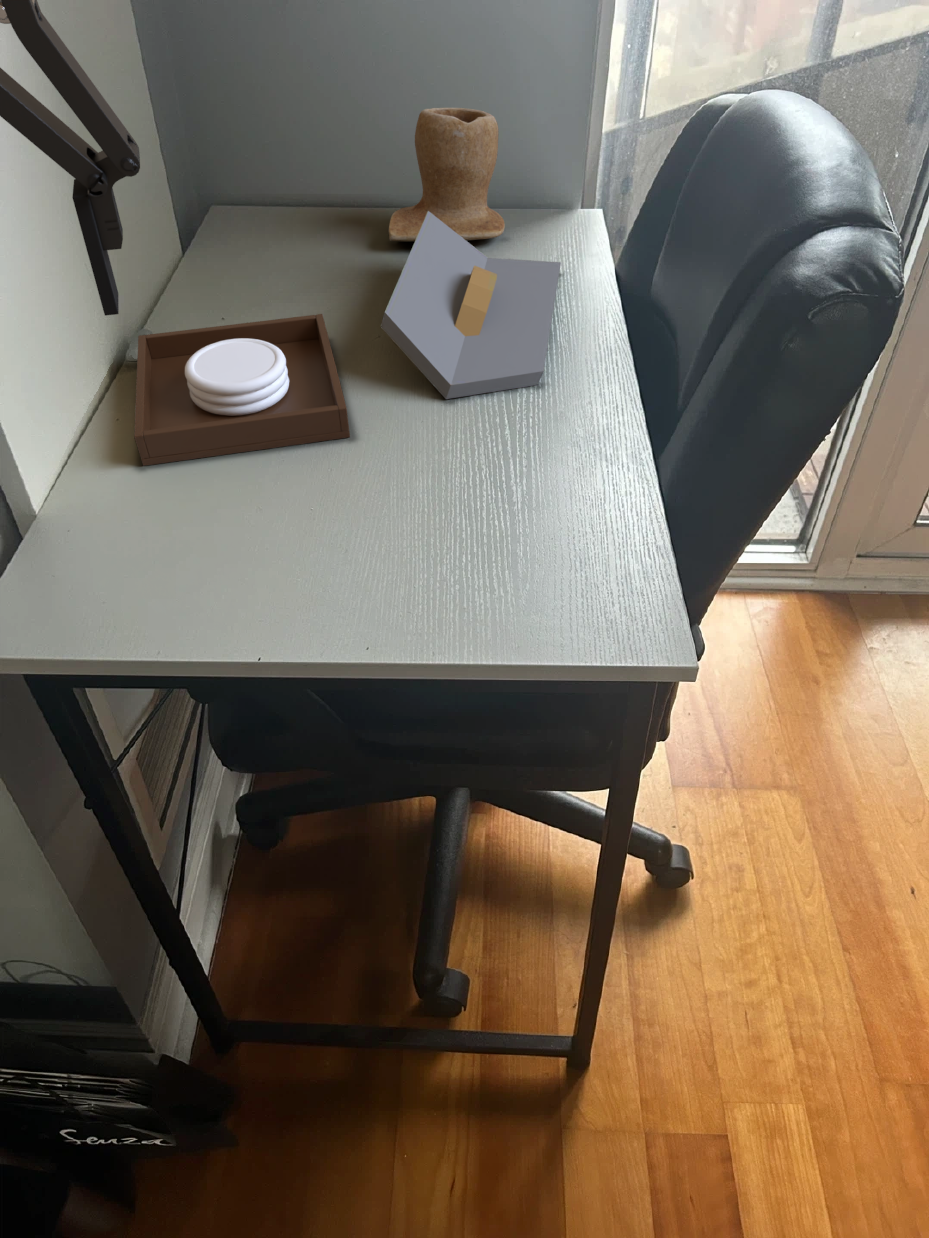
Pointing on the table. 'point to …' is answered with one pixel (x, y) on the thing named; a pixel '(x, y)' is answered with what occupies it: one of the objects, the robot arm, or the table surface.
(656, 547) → the table surface
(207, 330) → the holder
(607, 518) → the table surface
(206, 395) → the coaster
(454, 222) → the stone cup
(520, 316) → the shield
